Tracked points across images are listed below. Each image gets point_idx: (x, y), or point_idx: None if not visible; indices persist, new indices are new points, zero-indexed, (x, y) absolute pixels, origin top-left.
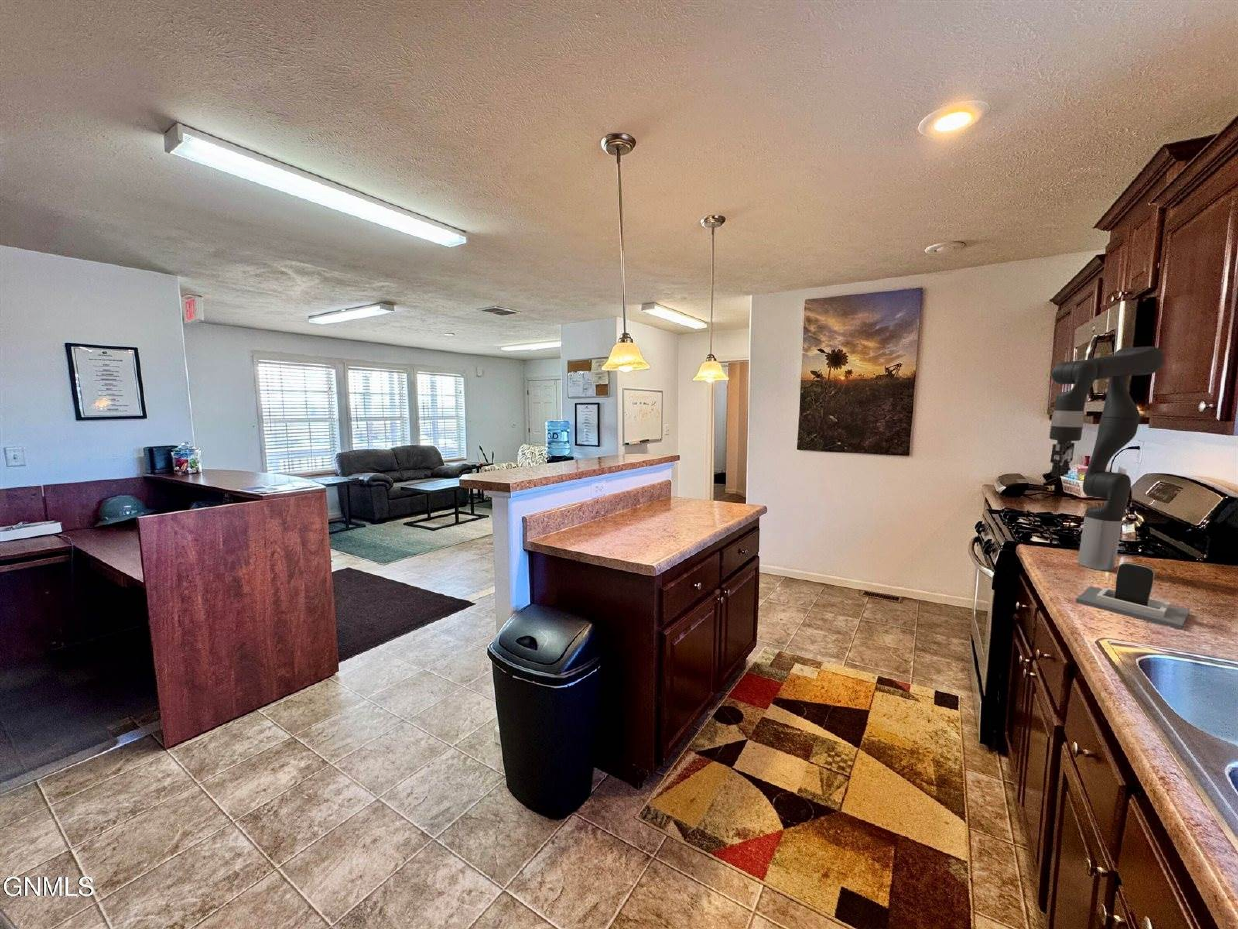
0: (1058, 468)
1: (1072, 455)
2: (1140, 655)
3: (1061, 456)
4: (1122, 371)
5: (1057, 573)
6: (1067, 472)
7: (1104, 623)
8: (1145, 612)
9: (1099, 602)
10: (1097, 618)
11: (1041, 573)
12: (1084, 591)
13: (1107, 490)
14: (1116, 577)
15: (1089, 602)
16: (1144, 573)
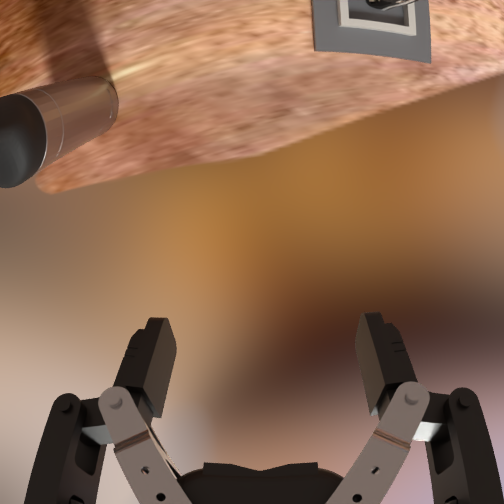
0: (409, 365)
1: (115, 452)
2: None
3: (484, 441)
4: None
5: (235, 125)
6: (161, 327)
7: (486, 31)
8: None
9: (419, 30)
10: (474, 37)
11: (271, 145)
12: (370, 53)
13: None
14: (404, 4)
15: (430, 44)
16: None
